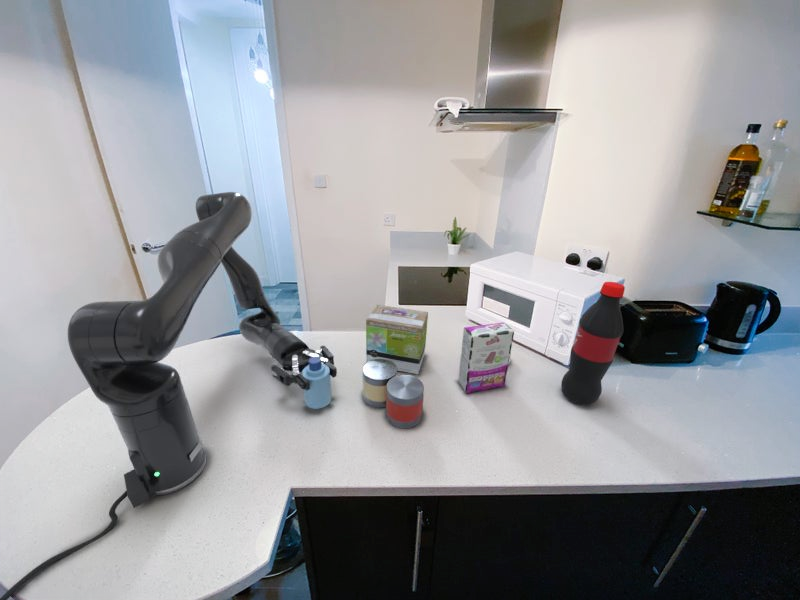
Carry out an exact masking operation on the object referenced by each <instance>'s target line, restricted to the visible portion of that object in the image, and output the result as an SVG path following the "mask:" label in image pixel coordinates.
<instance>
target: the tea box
mask: <svg viewBox="0 0 800 600" xmlns="http://www.w3.org/2000/svg"><path fill="white" fill-rule="evenodd" d="M428 319H429V311H423V310H416V309H409V308H402V307H395V306H389V305H383V304H376V306H375V308H373V310H372V312H370V314H369V316H368V317H367V319H366V320H365V343H366V344H365V349H366V350H365V356H366V357H365V358H366V359H365V360H366V363H367V362H369V361H371V360H375V359H386V360H389V361H392V362H393V363H394V364H395V365H396V366H397V372H398V371H399V372H404V373H409V374H413V375H419V373H420V371H421V370H420V369H421V366H422V363H423V360H424V357H425V353H426V343H427V331H428Z"/></svg>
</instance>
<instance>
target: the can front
mask: <svg viewBox="0 0 800 600" xmlns="http://www.w3.org/2000/svg"><path fill="white" fill-rule="evenodd" d="M424 391H425V386H424V383H423V381H422V380H421V379H419V378H418V377H416V376H413V375H410V374H397V376H395V377H393V378H391V379H390V380H389V381H388V383H387V392H386V407H385V410H386V412H385V416H386V419H387V421H388V423H389V424H391V425H392V426H394V427H396V428H400V429H410V428H414V427H415V426H417V425H419V423H421V421H422V418H423V410H424V394H425V393H424Z"/></svg>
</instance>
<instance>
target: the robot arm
mask: <svg viewBox="0 0 800 600" xmlns="http://www.w3.org/2000/svg"><path fill="white" fill-rule="evenodd" d="M195 212H196V213H195V214H196V216H197V218H198V221H196V222H194V223H192V224H190V225H188V226H186V227H184V228H181V230H179V231H178V232H177V233H175V234H174V235H173V236H172V237H171V238H170V240H169V241H167V242H166V243H165V244H164V245H163V247H161V249H160V251H159V253H158V255H157V268H158V272H159V274H160V277H161V280H162V285H161V286H160V287H159V289H158V290H157V291H156V292H155V293H153V295H151V296H150V297H148V298H146V299H143V300H107V301H94V302H90V303H87V304H84V305H82V306H80V307H79V308H78V309H77V310H76V311H75V312H74V313H73V314H72V315H71V317H70V319H69V322H68V326H67V342H68V347H69V350H70V353H71V355H72V358H73V359H74V362H75V363H76V365H77V367H78V369H79V370H80V372H81V374H82V375H83V377H84V379H85V380H86V382H87V385H88V386H89V388H90V389H91V391H92V393H93V394H94V396H95V397H96V398H97V399H98V400H99V401H100V402H101V403H103V404H105V405H106V406H107V407H108V409H109V411H110V413H111V415H112V418H113V420H114V422H115V425H116V426H117V428H118V430H119V433H120V435H121V437H122V439H123V441H124V444H125V446H126V448H127V452H128V453H127V454H128V457H129V460H130V463H131V465H132V467H133V469H132V470H130V471H127V472H126V473H124V474H123V478H124V484H125V488H126V489H125V491H124V492H123V493H122V494H121V495H120V496H119V497H118V498H117V499H116V500H115V501H114V502H113V503H112V505H111V506H110V509H109V511H108V516H109V518H110V520H111V521H110V523H109V524H108V525H107V527H105V529H104V530H102V531H101V532H100V533H99V534H98V535H96V536H94V537H92V538H90V539H88V540H86V541H84V542H82V543H80V544H77V545H75V546H72V547H71V548H68V549H66V550H64V551H62V552H60V553H58V554H55V555H53V556H52V557H50V558H47V560H45V561H43V562H42V563H40V564H39V565H37V566H36V567H35V568H34V569H32V570H31V571H29V572H28V573H27V574H26V575H24V576H23V577H22V578H21V579H19V581H17V582H16V583H15V584H13V586H12V587H11V588H9V589H8V590H7V591H6V592H5V593H4V594H3V595H2V596H1V597H0V600H9V598H11V597H12V596H13V595H14V594H15V593H16V592H17V591H18V590H19V589H20V588H22V586H24V585H25V584H26V583H27V582H28V581H29V580H31V578H33V577H34V576H36V575H37V574H38V573H39V572H41V571H42V570H44V569H45V568H47V567H49V566H50V565H53V563H56V562H57V561H59V560H61V559H63V558H65V557H67V556H70V555H72V554H73V553H75V552H77V551H79V550H81V549H84V548H85V547H87V546H89V545H90V544H92V543H94V542H95V541H97V540H99V539H100V538H102V537H104V536H105V535H107V534H108V533H109V532H110V531H112V529H114V527H115V525H116V524H117V522H118V521H119V520H118V519H119V516H118V514H117V513H116V510H117V508H118V506H119V505H120V504H121V502H123V500H125V499H126V498H128V500H129V502H130V504H131V506H132V508H133V509H136V508H137V507H139V506H141V505H142V504H144V503H146V502H148V501H150V500H151V498H153V497H155V496H163V495H168V494H172V493H174V492H177V491H180V490H181V489H184V488H185V487H187V486H188V485H189V484H192V483H193V481H195V480H196V479H197V478H198V477H199V475H201V473H202V472H203V470H204V469H205V466H206V464H207V455H206V454H207V453H206V451H205V449H204V445H203V440H201V438H200V435H199V432H198V429H197V426H196V422H195V420H194V417H193V413H192V410H191V406H190V403H189V400H188V397H187V393H186V391H185V387H184V385H183V382H182V378H181V376H180V373H179V372H178V370H177V369H176V368H175V367H173V366H171V365H168V364H166V363H162V362H161V361H162V360H164V359H165V358H167V356H168V355H169V354H170V353H171V352H172V351H173V350H174V348H175V346H176V345H177V343H178V341H179V339H180V337H181V335H182V333H183V331H184V328H185V326H186V324H187V322H188V319H189V317H190V316H191V313H192V310H193V308H194V307H195V304H196V303H197V301H198V299H199V298H200V296H201V294H202V292H203V291H204V289H205V287H206V286H207V284H208V283H209V281H210V279H212V277H213V275H214V274H215V273H216V271H217V270H218V268H219V266H221V265H222V266H223V268H224V270H225V273H226V275H227V276H228V278H229V282H230V285H231V287H232V290H233V293H234V296H235V298H236V301H237V304H238V306H239V308H241V309H243V310H253V309H259V310H260V311H258V312H256V313H253V314H251V315H248V316H246V317H243V318H242V319H241V320H240V322H239V325H238V328H239V332H240V334H241V336H242V337H243V338H244V339H245V340H247V341H248V342H249V343H252V344H254V345H258V346H261V347H263V348H264V349H265V350H266V351H267V353H269V355H270V356H271V358H272V359H274V360H275V361H276V363H278V364H279V365H276V364H274V365H272V366H271V367H270V369H271V374H272V377H273V378H274V379H276V380H277V381H278V382H279V383H281V384H282V385H284V387H289V386H291V384H294V385H297V386H298V388H300V389H301V390H303V391H304V389H305V390H306V391H307V390H309V389H310V384H309V381H308V380H307V379H306V378H305V377H304V376H303V375H302V371H303V369H304V368H305V367H307V366H308V365H309V359H310V358H312V357H320V358H321V363H322V364H325V365H327V366H328V367H329V369H330V377H331V378H333V379H334V378H336V377H337V374H338V372H337V371H338V370H337V369H338V368H337V367H336V366H335V361H334V360H335V359H334V356H335V355H334V354H333V353H332V352H331V351H330V350H329V349H328V348H327V347H326V346H325V345H320V347H319V348H320V349H317V350H314V349H312V348H309V346H308V345H307V344H306V343H305V342H304V341H303V340H302V339H300V338H299V337H298V336H297V335H295V334H294V333H293V332H291V331H289V330H287V329H286V328H285V327H284V326H283V325H282V324H281V321H280V318H279V316H278V315H277V313H276V311H275V310H274V309H273V307H272V306H271V304H270V303H269V300H268V299H267V297H266V295H265V292H264V289H263V285H262V283H261V279H260V277H259V275H258V273H257V272H256V270H255V269H254V267H253V266H252V265H251V264H250V263H249V262H247V260H246V259H244V257H243V256H241V254H239V253H238V252H237V250H236V249H234V247H233V245H234V244H235V242H236V241H237V239H239V238H240V237H241V235H242V234H244V232H245V231H247V229H248V228H249V226H250V225H251V222H252V217H253V215H252V214H253V213H252V212H253V211H252V206H251V204H250V202H249V200H248V198H247V197H246V196H244V195H243V194H242V193H239V192H235V191H226V192H218V193H211V194H204V195H200V196H199V197H198V198H197V199H196V201H195ZM288 372H291V374H289V373H288Z"/></svg>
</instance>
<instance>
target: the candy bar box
mask: <svg viewBox="0 0 800 600" xmlns="http://www.w3.org/2000/svg"><path fill="white" fill-rule="evenodd" d="M514 336H515V330H514V329H513V328H512V327H510V326H509V325H507V323H505V322H503V321H502V322H497V323H487V324H481V325H473V326H466V327H465V326H464V327H463V332H462V342H461V353H460V362H459V371H458V381H457V382H458V384H459V386H460V387H461V389H462V390H463V391H464V393H465V394H470V393H477V392H480V391H481V392H482V391H486V390H493V389H496V388H502V387H505V385H506V379H507V376H508V375H507V374H508V368H509V365H510V363H509V358H510V359H511V357H510V353H511V354H512V347H513V340H514Z"/></svg>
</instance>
